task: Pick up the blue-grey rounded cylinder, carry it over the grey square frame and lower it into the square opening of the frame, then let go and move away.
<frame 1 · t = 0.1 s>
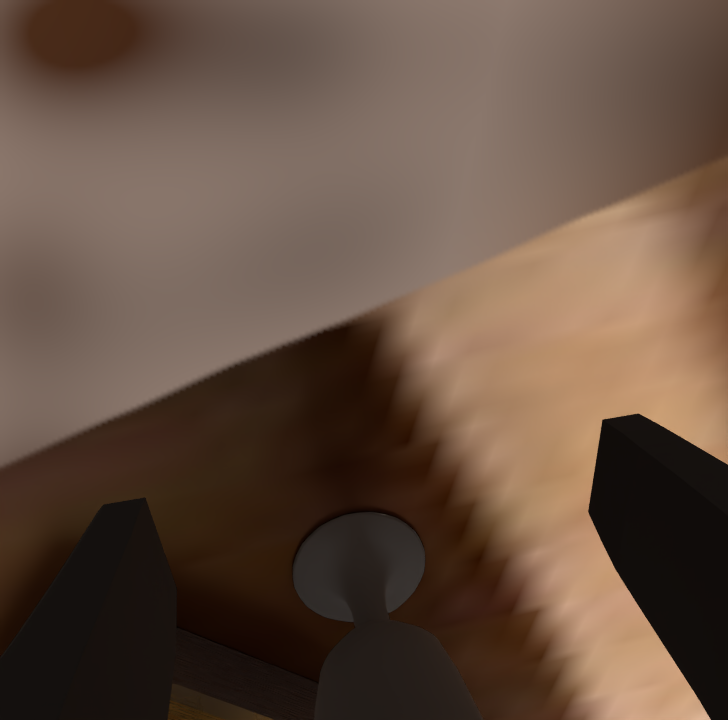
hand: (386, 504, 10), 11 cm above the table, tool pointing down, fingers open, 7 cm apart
sundae: (358, 564, 24), on the table
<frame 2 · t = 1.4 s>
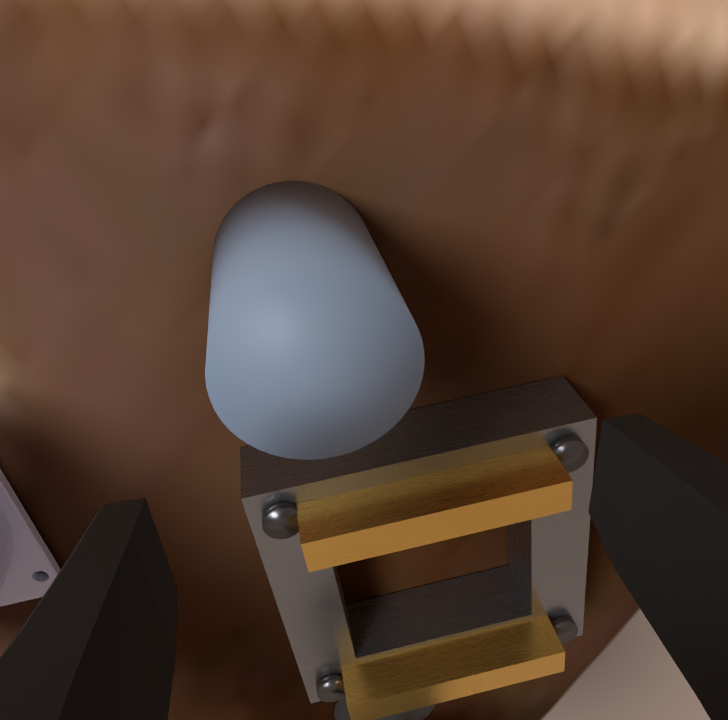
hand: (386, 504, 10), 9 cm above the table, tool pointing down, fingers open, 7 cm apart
sundae: (385, 697, 30), on the table
blue-grey rounded cylinder: (294, 259, 18), on the table
grey square frame: (420, 526, 24), on the table
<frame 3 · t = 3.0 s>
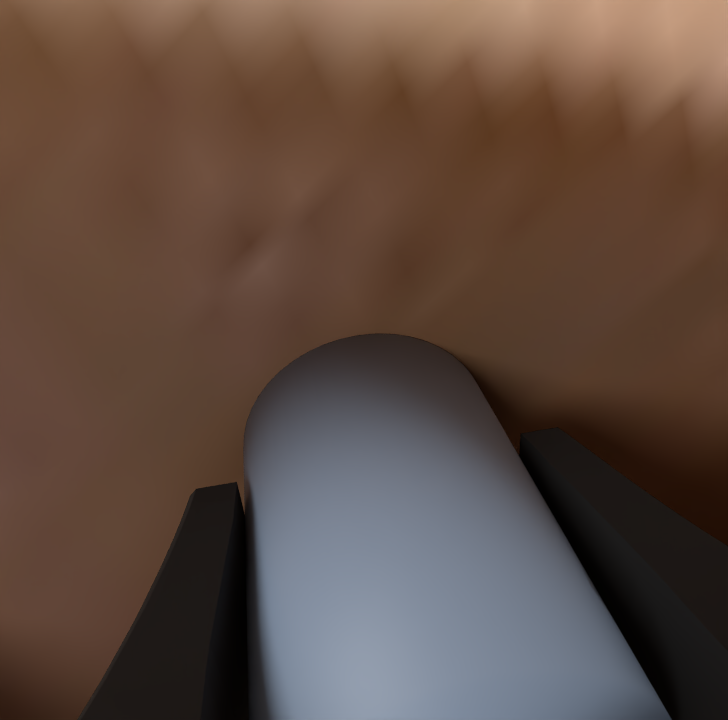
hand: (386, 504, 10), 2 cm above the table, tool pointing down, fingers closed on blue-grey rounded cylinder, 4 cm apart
blue-grey rounded cylinder: (367, 441, 12), on the table, touching gripper
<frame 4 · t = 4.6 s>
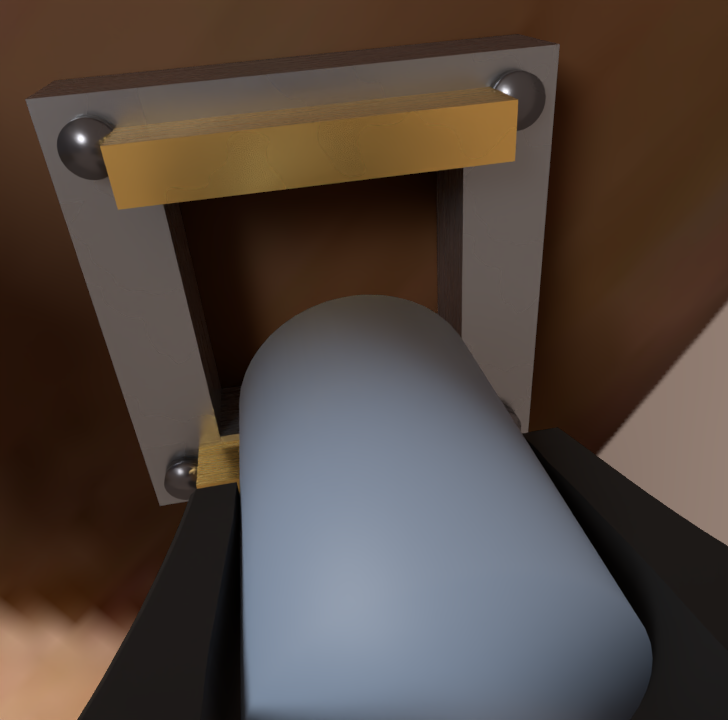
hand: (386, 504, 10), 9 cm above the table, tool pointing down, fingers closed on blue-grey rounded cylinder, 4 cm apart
blue-grey rounded cylinder: (360, 404, 12), point 7 cm above the table, touching gripper
grey square frame: (320, 270, 18), on the table
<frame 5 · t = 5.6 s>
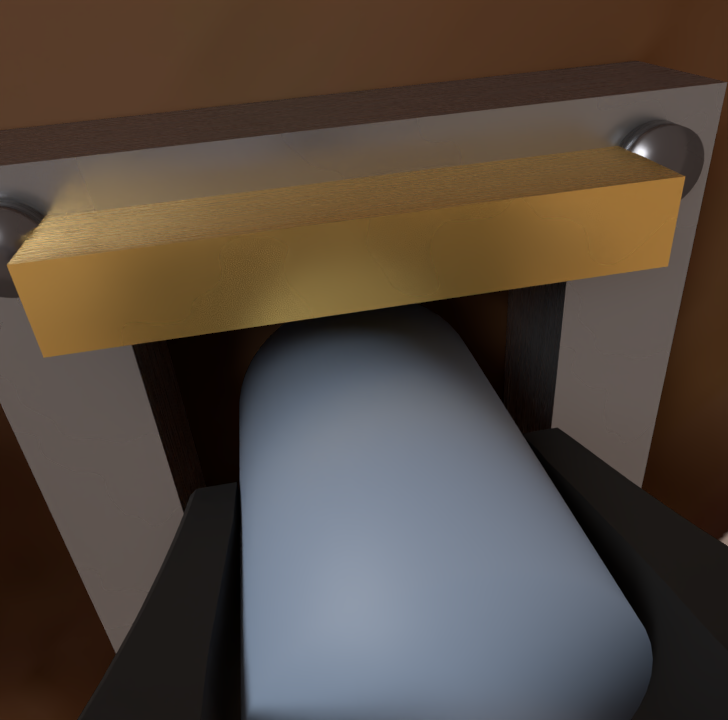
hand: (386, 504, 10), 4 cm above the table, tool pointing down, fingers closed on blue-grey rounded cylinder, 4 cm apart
blue-grey rounded cylinder: (360, 404, 12), point 2 cm above the table, touching gripper
grey square frame: (348, 376, 13), on the table
when the fingers open (3 cm above the table, at t = 6.2 s): blue-grey rounded cylinder drops 1 cm, resting in grey square frame.
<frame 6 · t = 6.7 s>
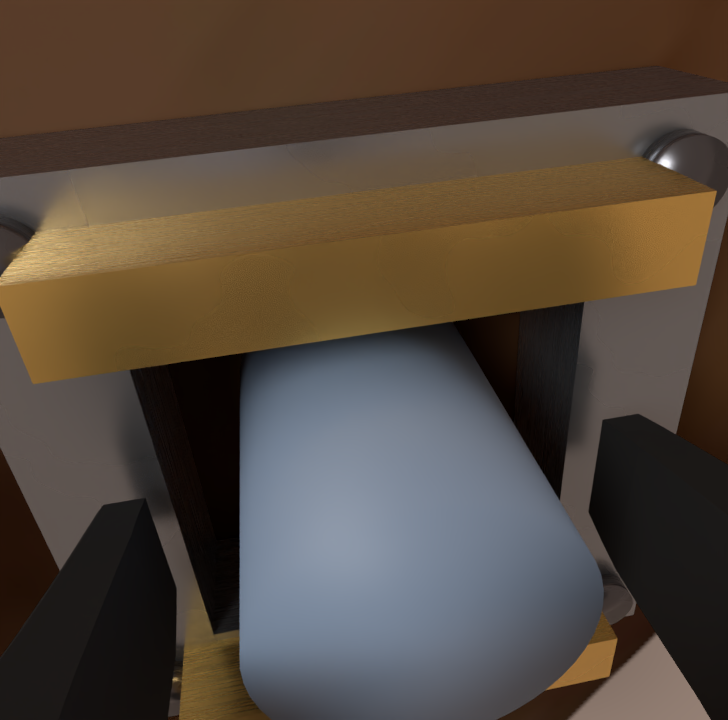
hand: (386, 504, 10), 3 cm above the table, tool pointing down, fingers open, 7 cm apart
blue-grey rounded cylinder: (353, 374, 13), resting in grey square frame
grey square frame: (354, 392, 13), on the table
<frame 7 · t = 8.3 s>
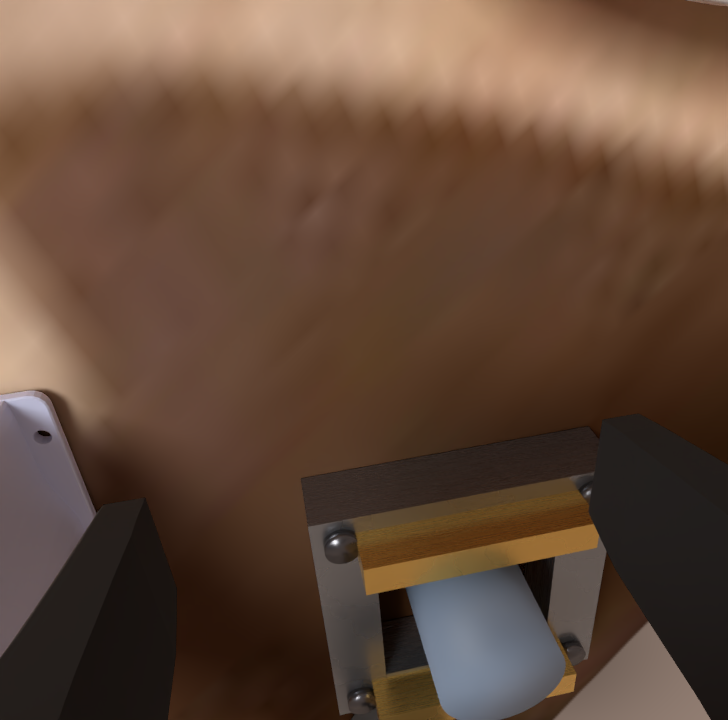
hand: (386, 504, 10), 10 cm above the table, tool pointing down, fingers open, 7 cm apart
sundae: (397, 712, 32), on the table
blue-grey rounded cylinder: (449, 547, 27), resting in grey square frame
grey square frame: (449, 554, 27), on the table
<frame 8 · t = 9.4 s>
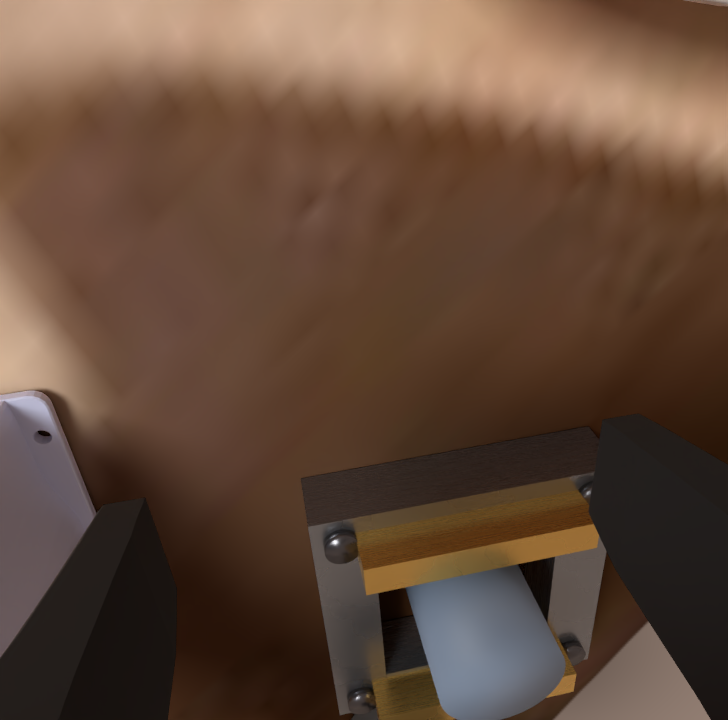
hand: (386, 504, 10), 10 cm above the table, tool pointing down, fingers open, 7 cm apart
sundae: (397, 712, 32), on the table
blue-grey rounded cylinder: (449, 547, 27), resting in grey square frame
grey square frame: (449, 554, 27), on the table
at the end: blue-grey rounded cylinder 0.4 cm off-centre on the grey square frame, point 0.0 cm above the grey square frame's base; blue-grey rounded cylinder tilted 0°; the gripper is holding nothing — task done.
